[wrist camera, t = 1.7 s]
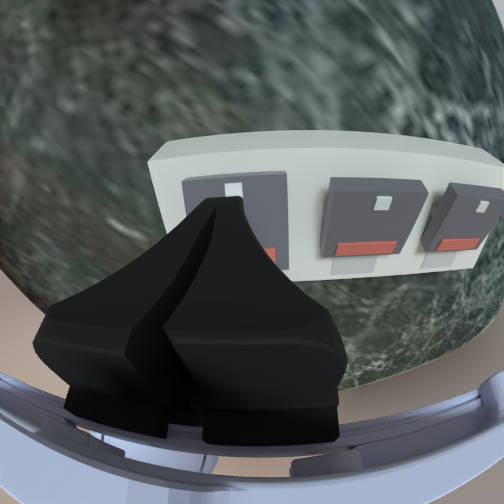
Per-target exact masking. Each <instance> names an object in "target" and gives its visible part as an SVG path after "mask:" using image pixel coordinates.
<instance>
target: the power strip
mask: <svg viewBox="0 0 504 504" xmlns="http://www.w3.org/2000/svg"><path fill="white" fill-rule="evenodd" d="M148 166H149V170H150V174H151V178H152V182H153V186H154V189H155V193H156V197H157V200H158V204H159V208H160V211H161V215H162V218H163V221H164V225H165V228H166V232H167V234H168V233H169V232H170V231H171V230H172V229H173V228H175V227H176V226H177V225H178V224H179V223H180V222H181V221H182V220H183V219H184V218H185V217H186V211H185V204H184V197H183V190H182V183H181V181H183V180H184V179H186V178H188V177H197V176H208V175H219V174H232V173H247V172H265V171H286V173H287V191H288V228H289V270H281V271H282V272H283V273H284V274H285V275H286V276H287V277H288V278H289V279H290V280H291V281H311V280H329V279H346V278H362V277H376V276H390V275H402V274H414V273H426V272H437V271H447V270H457V269H467V268H473V267H474V265H475V263H476V261H477V259H478V256H479V254H480V252H481V250H482V248H483V245H484V243H485V241H486V239H487V236H488V235H487V236H486V238H485V239H484V240H483V242H482V243H481V244H480V246H479V247H478V249H477V250H462V251H445V252H427V253H425V250H424V248H423V245H422V243H421V238H422V237H423V235H424V233H425V231H426V229H427V227H428V225H429V224H430V222H431V220H432V218H433V216H434V214H435V212H436V210H437V208H438V206H439V204H440V202H441V200H442V197H443V195H444V193H445V191H446V189H447V187H448V184H449V182H451V183H461V184H470V185H479V186H486V187H494V188H501V189H503V191H504V164H503V163H501V162H500V161H499V160H497V159H496V158H495V157H493V156H492V155H490V154H489V153H487V152H486V151H484V150H483V149H480V148H475V147H471V146H466V145H461V144H456V143H451V142H445V141H439V140H433V139H426V138H419V137H411V136H403V135H394V134H383V133H371V132H355V131H330V130H288V131H262V132H246V133H233V134H222V135H212V136H203V137H195V138H188V139H181V140H174V141H168V142H166V143H165V144H164V145H163V146H162V147H161V148H160V149H159V150H158V151H157V152H156V153H155V154H154V155H153V156H152V157H151V158H150V160H149V161H148ZM330 177H364V178H394V179H412V180H421V181H422V182H423V184H424V186H425V187H426V189H427V191H428V193H429V194H428V197H427V199H426V201H425V203H424V206H423V208H422V210H421V212H420V214H419V216H418V219H417V221H416V223H415V225H414V227H413V229H412V231H411V233H410V235H409V237H408V239H407V241H406V243H405V245H404V247H403V248H402V250H401V252H400V254H390V255H370V256H350V257H328V258H322V254H321V248H320V240H321V234H322V228H323V222H324V216H325V210H326V203H327V197H328V190H329V182H330ZM488 234H489V233H488Z"/></svg>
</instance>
